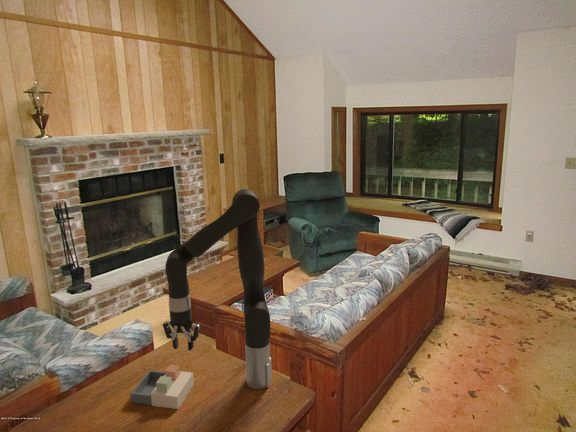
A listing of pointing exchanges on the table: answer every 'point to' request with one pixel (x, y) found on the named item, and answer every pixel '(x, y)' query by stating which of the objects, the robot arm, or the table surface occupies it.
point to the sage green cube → (164, 384)
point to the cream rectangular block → (174, 392)
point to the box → (146, 388)
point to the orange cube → (172, 371)
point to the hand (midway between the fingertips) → (183, 348)
